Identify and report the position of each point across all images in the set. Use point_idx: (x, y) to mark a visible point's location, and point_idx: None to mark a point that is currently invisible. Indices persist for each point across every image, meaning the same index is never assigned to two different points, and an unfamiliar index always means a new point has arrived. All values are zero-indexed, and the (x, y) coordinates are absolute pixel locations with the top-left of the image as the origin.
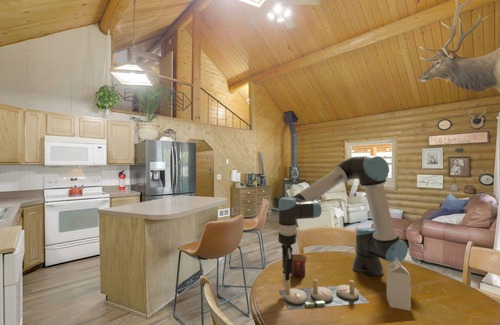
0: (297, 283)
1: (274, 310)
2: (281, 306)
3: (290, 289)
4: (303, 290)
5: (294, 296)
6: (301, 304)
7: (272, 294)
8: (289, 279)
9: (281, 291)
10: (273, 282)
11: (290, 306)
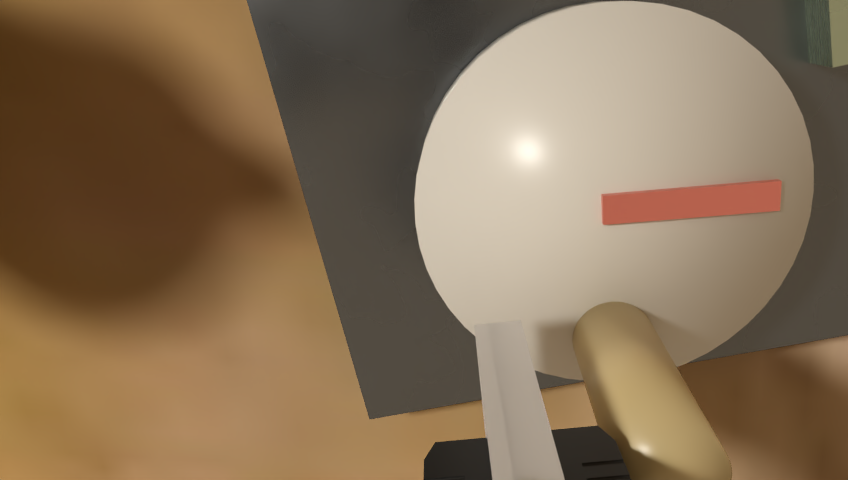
0: (8, 69)
1: (809, 467)
2: (723, 380)
3: (455, 276)
4: (324, 10)
5: (695, 236)
6: None
7: (423, 470)
8: (544, 415)
9: (403, 377)
10: (76, 440)
11: (827, 290)
